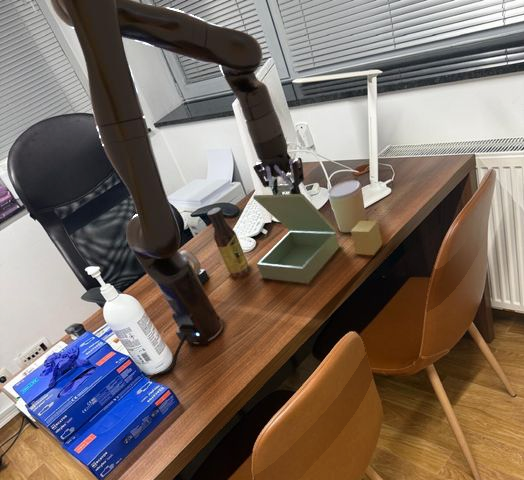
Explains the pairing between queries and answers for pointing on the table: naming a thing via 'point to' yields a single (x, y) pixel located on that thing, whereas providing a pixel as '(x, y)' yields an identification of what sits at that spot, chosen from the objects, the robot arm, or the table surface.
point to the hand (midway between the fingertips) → (289, 200)
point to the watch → (196, 266)
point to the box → (298, 256)
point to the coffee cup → (347, 204)
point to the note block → (366, 237)
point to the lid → (294, 211)
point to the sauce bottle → (228, 244)
